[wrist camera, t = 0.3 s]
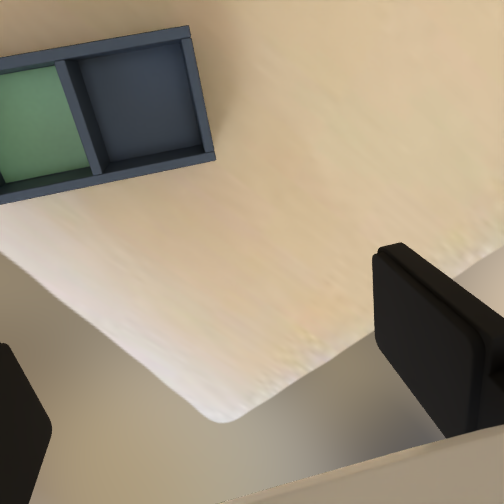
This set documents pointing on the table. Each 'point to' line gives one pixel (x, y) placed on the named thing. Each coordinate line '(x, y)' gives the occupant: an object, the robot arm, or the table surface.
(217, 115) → the table surface
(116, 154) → the glass rack
